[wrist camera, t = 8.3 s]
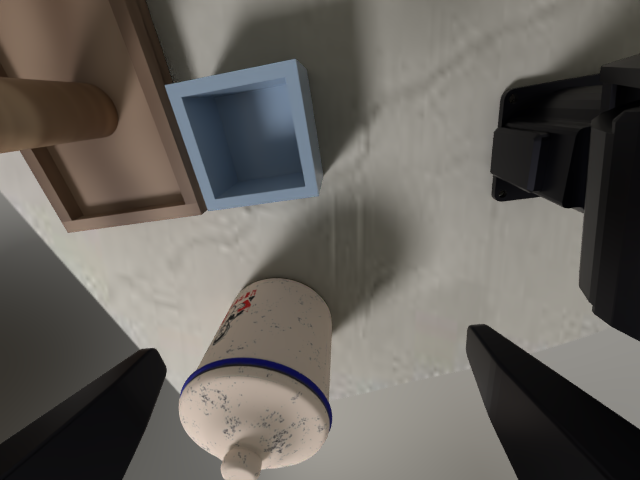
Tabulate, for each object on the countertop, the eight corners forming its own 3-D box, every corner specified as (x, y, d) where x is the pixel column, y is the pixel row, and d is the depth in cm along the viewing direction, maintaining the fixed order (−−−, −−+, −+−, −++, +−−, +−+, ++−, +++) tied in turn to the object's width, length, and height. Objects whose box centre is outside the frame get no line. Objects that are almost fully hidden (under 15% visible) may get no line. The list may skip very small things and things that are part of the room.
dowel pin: (103, 78, 16) (-184, 51, 7) (126, 133, 18) (-96, 166, 9) (58, 88, 17) (-267, 73, 8) (83, 141, 18) (-170, 180, 9)
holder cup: (306, 69, 16) (295, 58, 12) (323, 175, 19) (318, 196, 15) (206, 89, 17) (164, 85, 13) (235, 188, 20) (208, 211, 16)
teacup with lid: (241, 258, 22) (152, 397, 12) (350, 293, 23) (358, 452, 13) (217, 360, 28) (140, 520, 17) (307, 386, 28) (287, 554, 18)
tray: (126, -56, 15) (96, -78, 13) (213, 204, 20) (201, 214, 19) (-36, -11, 16) (-84, -25, 14) (90, 221, 22) (67, 232, 20)
